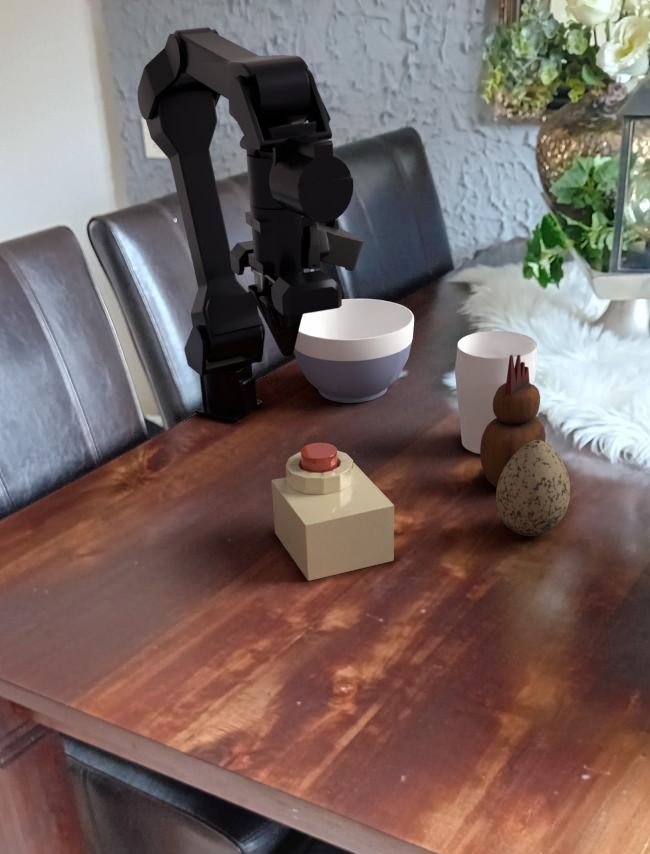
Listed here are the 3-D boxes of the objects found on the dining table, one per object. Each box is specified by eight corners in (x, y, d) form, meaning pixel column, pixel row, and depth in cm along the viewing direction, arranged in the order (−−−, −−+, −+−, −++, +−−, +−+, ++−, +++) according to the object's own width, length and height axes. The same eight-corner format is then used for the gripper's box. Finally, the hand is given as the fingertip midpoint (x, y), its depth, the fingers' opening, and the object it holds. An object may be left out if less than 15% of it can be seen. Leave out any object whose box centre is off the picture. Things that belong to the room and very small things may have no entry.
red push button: (296, 462, 100) (295, 446, 99) (329, 455, 101) (329, 439, 100) (308, 477, 97) (307, 461, 96) (343, 470, 98) (342, 454, 97)
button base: (271, 528, 105) (265, 458, 100) (350, 510, 107) (349, 441, 102) (308, 581, 96) (304, 507, 92) (393, 561, 99) (394, 488, 94)
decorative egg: (479, 525, 103) (485, 435, 97) (537, 508, 105) (546, 419, 100) (519, 557, 98) (528, 464, 92) (580, 538, 100) (592, 447, 94)
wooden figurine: (500, 501, 107) (511, 365, 98) (469, 480, 111) (476, 348, 103) (551, 484, 109) (566, 351, 101) (518, 465, 114) (530, 334, 105)
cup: (528, 462, 114) (538, 360, 107) (448, 459, 116) (453, 358, 109) (529, 429, 121) (538, 331, 114) (454, 426, 123) (458, 329, 116)
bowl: (309, 421, 126) (306, 346, 121) (281, 376, 139) (277, 307, 133) (429, 403, 129) (431, 329, 123) (391, 361, 141) (391, 292, 136)
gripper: (390, 211, 95) (390, 370, 104) (320, 175, 109) (325, 318, 119) (279, 227, 92) (289, 389, 101) (222, 188, 107) (235, 333, 116)
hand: (287, 354), depth 109 cm, fingers closed
